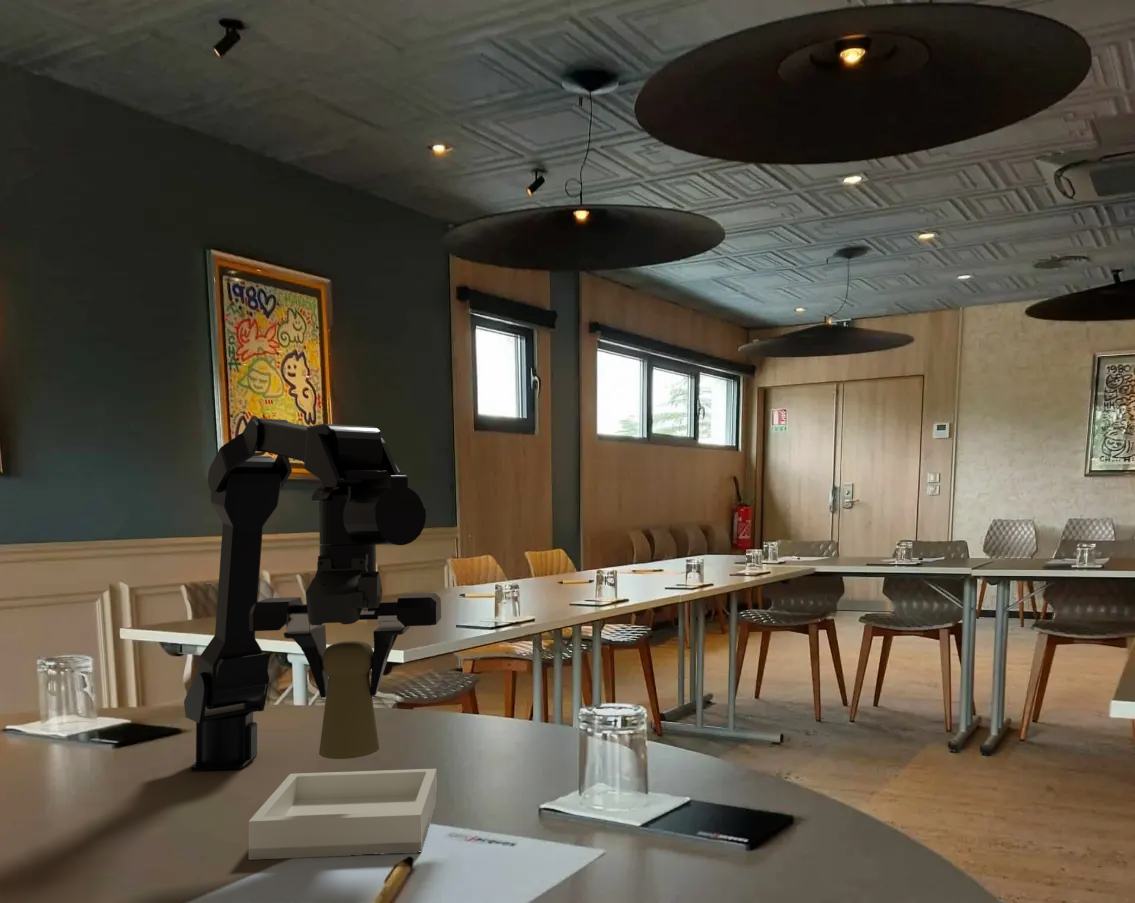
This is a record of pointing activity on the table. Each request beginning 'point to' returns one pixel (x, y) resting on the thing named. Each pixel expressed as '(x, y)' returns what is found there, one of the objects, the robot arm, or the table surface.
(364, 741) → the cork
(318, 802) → the tray
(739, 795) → the table surface
